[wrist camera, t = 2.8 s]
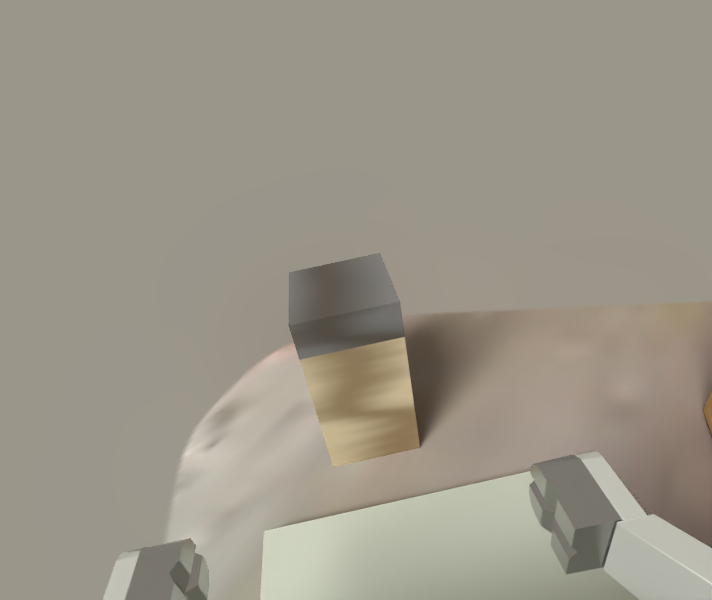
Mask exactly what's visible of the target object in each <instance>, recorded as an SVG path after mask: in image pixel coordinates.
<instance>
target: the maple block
mask: <svg viewBox="0 0 712 600" xmlns="http://www.w3.org/2000/svg"><path fill="white" fill-rule="evenodd" d="M289 328H290V331H291V334H292V337H293V341H294V344H295V347H296V350H297V353H298V356H299V360H300V363H301V366H302V369H303V372H304V375H305V378H306V382H307V385H308V388H309V391H310V394H311V397H312V400H313V404H314V407H315V410H316V413H317V416H318V419H319V423H320V426H321V429H322V432H323V435H324V438H325V441H326V445H327V448H328V451H329V454H330V457H331V460H332V464H333V467H336V466H340V465H344V464H349V463H353V462H358V461H362V460H367V459H371V458H376V457H380V456H385V455H389V454H394V453H398V452H403V451H407V450H412V449H416V448H420V443H419V436H418V429H417V422H416V415H415V407H414V400H413V393H412V386H411V379H410V371H409V364H408V357H407V350H406V343H405V335H404V328H403V321H402V314H401V307H400V301H399V298H398V296H397V294H396V291H395V289H394V286H393V284H392V281H391V279H390V276H389V274H388V271H387V269H386V267H385V264H384V262H383V259H382V257H381V254H380V253H378V254H373V255H369V256H364V257H359V258H355V259H350V260H345V261H341V262H336V263H331V264H327V265H322V266H318V267H313V268H308V269H303V270H299V271H294V272H290V273H289Z"/></svg>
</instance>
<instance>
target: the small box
mask: <svg viewBox="0 0 712 600" xmlns="http://www.w3.org/2000/svg"><path fill="white" fill-rule="evenodd" d="M704 414H705V416H706V419H707V423H708V425H709V428H710V431H711V434H712V390H711V392H710V395H709V398H708V400H707V403H706V405H705V408H704Z"/></svg>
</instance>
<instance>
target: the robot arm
mask: <svg viewBox="0 0 712 600" xmlns="http://www.w3.org/2000/svg"><path fill="white" fill-rule="evenodd" d="M531 475H532V477H533V479H534V481H533V482H532V483H531V484H530V485H529V496H530V501H531V505H532V508H533V510H534V513H535V515H536V517H537V519H538V521H539V523H540V525H541V526H542V527H543V528H545V529H546V530H547V531H549V532H550V533H552V537H551V544H550V545H551V547H552V549H553V551H554V553H555V554H556V556H557V558H558V560H559V562H560V564H561V566H562V568H563V570H564V572H565V574H566V575H567V574H572V573H577V572H582V571H587V570H593V569H598V568H603V567H604V569H603V570H604V571H605V572H607V573H608V574H609V575H610V576H611V577H613V578H614V579H615V580H616V581H617V582H619V583H620V584H621V585H622V586H623V587H625V588H626V589H627V590H628V591H629V592H631V593H632V594H633V595H634V596H635V597H637V598H638V599H639V600H712V548H711V547H709V546H707V545H706V544H704V543H702V542H701V541H699V540H697V539H696V538H694V537H692V536H691V535H689V534H687V533H685V532H684V531H682V530H680V529H679V528H677V527H675V526H674V525H672V524H670V523H669V522H667V521H665V520H663V519H662V518H660V517H658V516H657V515H655V514H650V515H647V514H646V512H645V511H644V510H643V508H642V507H641V506H640V505H639V503H638V502H637V501H636V499H635V498H634V497H633V495H632V494H631V493H630V491H629V490H628V489H627V487H626V486H625V485H624V484H623V482H622V481H621V480H620V478H619V477H618V476H617V474H616V473H615V472H614V470H613V469H612V468H611V466H610V465H609V464H608V462H607V461H606V460H605V459H604V457H603V456H602V455H601V454H600V453H598V452H597V451H589V452H585V453H580V454H576V455H569V456H565V457H561V458H557V459H553V460H548V461H544V462H540V463H536V464H533V465H532V466H531ZM195 548H196V545H195V544H194V543H193V541H192V540H191V539H190V538H189V539H185V540H180V541H175V542H171V543H166V544H161V545H157V546H152V547H145V548H141V549H136V550H132V551H127V552H123V553H122V554H121V555H120V556H119V558H118V559H117V561H116V563H115V566H114V568H113V571H112V574H111V577H110V580H109V583H108V586H107V589H106V592H105V595H104V598H103V600H207V597H208V590H209V570H208V566H207V563H206V561H205V559H204V557H203V556H201V555H199V554H196V553H195Z"/></svg>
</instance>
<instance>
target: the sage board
mask: <svg viewBox="0 0 712 600" xmlns="http://www.w3.org/2000/svg"><path fill="white" fill-rule="evenodd" d="M533 481H534V479H533V477H532V475H531V471H528V472H524V473H519V474H515V475H511V476H506V477H502V478H497V479H493V480H488V481H484V482H479V483H475V484H471V485H466V486H462V487H457V488H453V489H448V490H444V491H440V492H435V493H431V494H426V495H422V496H417V497H413V498H408V499H404V500H400V501H395V502H391V503H386V504H382V505H377V506H373V507H369V508H364V509H360V510H355V511H351V512H346V513H342V514H338V515H333V516H329V517H324V518H320V519H315V520H311V521H306V522H302V523H298V524H293V525H289V526H284V527H280V528H275V529H271V530H267V531H264V542H263V560H262V579H261V597H260V600H639V599H638V598H637V597H635V596H634V595H633V594H632V593H631V592H629V591H628V590H627V589H626V588H625V587H623V586H622V585H621V584H620V583H619V582H617V581H616V580H615V579H614V578H613V577H611V576H610V575H609V574H608V573H607V572H605V571H604V570H603V569H604V567H603V568H598V569H593V570H587V571H582V572H577V573H572V574H567V575H566V574H565V572H564V570H563V568H562V566H561V564H560V562H559V560H558V558H557V556H556V554H555V553H554V551H553V549H552V547H551V545H550V544H551V537H552V533H550V532H549V531H547V530H546V529H545V528H543V527H542V526H541V525H540V523H539V521H538V519H537V517H536V515H535V513H534V510H533V508H532V505H531V501H530V496H529V485H530V484H531V483H532V482H533Z"/></svg>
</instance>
